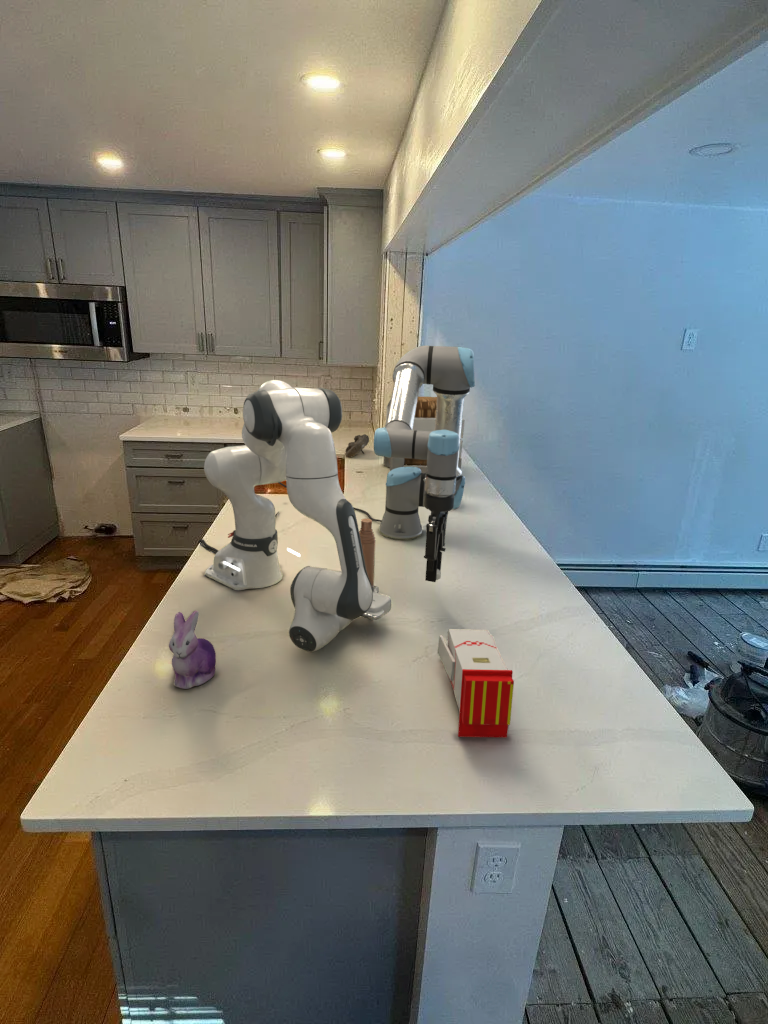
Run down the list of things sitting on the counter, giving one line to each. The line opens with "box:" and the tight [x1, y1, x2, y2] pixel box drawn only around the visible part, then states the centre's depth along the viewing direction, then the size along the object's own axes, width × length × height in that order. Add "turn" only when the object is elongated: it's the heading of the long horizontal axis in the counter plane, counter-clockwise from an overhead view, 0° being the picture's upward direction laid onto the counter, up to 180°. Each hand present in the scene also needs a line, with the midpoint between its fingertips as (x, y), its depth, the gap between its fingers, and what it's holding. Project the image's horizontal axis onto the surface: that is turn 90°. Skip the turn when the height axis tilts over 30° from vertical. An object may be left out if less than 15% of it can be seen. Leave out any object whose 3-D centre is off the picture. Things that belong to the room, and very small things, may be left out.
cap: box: [424, 569, 442, 581], centre depth 150 cm, size 4×4×2 cm
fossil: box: [344, 433, 370, 458], centre depth 304 cm, size 22×10×15 cm
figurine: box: [168, 610, 217, 690], centre depth 117 cm, size 9×10×15 cm
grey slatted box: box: [383, 396, 465, 472], centre depth 268 cm, size 34×33×41 cm
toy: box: [437, 628, 515, 738], centre depth 117 cm, size 12×13×30 cm
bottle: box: [359, 517, 377, 587], centre depth 145 cm, size 5×5×25 cm
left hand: (365, 585), depth 148 cm, fingers closed on bottle, 5 cm apart
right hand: (432, 577), depth 150 cm, fingers closed on cap, 4 cm apart
